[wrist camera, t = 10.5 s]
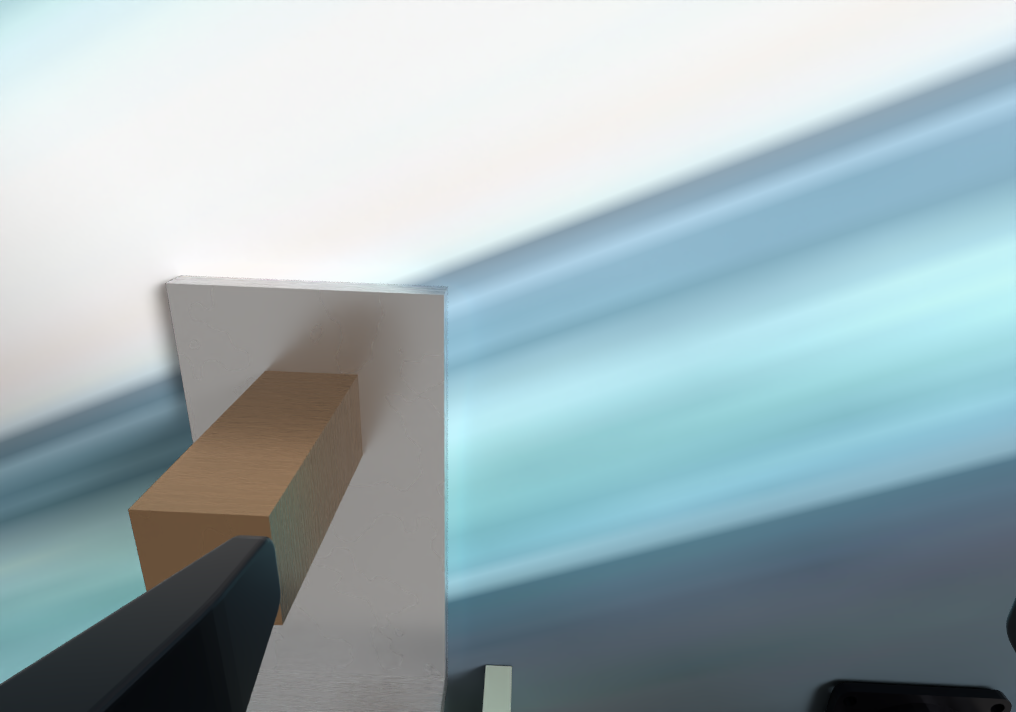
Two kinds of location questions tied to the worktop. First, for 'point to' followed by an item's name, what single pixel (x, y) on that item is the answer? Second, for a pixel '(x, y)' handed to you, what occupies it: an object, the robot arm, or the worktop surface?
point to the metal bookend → (318, 479)
